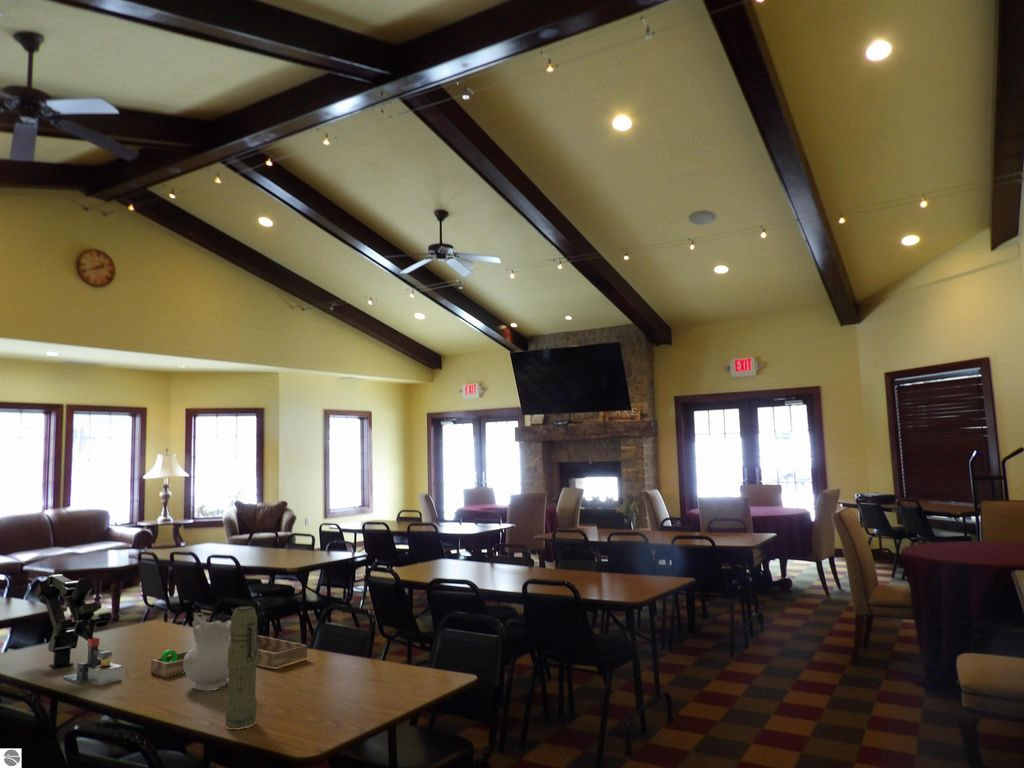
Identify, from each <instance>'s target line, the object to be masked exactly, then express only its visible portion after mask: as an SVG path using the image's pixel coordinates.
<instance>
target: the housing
mask: <svg viewBox="0 0 1024 768" xmlns="http://www.w3.org/2000/svg"><path fill="white" fill-rule="evenodd" d="M122 668H123V666H122V665H121V664H118V663H114V662H110V667H108V668H101V665H98V666H94V667H89V669H88V682H87V683H89V682H90V683H89V684H93V685H96V686H98V685H99V686H103V685H107V684H111V683H115V682H118V680H119V681H122V673H123V672H122V670H123V669H122ZM114 681H115V682H114ZM110 682H111V683H110Z"/></svg>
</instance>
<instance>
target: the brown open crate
mask: <svg viewBox="0 0 1024 768" xmlns="http://www.w3.org/2000/svg"><path fill="white" fill-rule="evenodd" d="M257 644H258V664H260V665H265V666H270V667H278V666H281V665H284V664H287V663H290V662H293V661H297V660H300V659H303V658H307V659H308V645H307V644H302V643H298V642H293V641H288V640H283V639H278V638H272V637H269V636H263V635H259V634H257ZM259 649H263V650H267V651H263V650H259ZM268 651H271V652H268ZM272 652H277V653H272Z"/></svg>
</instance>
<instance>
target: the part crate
mask: <svg viewBox="0 0 1024 768" xmlns="http://www.w3.org/2000/svg"><path fill="white" fill-rule="evenodd" d="M189 651H190V650H187V651H182V652H179V653H177V661H175V662H171V663H166V662H162V661H161V657H157V658H154V659H151V664H150V665H151V667H150V668H151V669H150V674H152V673H154V674H153V675H155V674H158V675H157V676H159V675H162V676H166V677H167V676H171V675H175V674H179V673H183V672H184V667H183V660H184V657H185V655H186V654H187V653H188V652H189ZM171 658H172V655H168V656H167V658H166V660H167V661H169V660H171ZM183 674H184V673H183ZM179 675H180V674H179ZM162 676H161V677H162ZM175 676H176V675H175ZM171 677H172V676H171Z"/></svg>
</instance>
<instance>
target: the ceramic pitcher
mask: <svg viewBox="0 0 1024 768" xmlns="http://www.w3.org/2000/svg"><path fill="white" fill-rule="evenodd" d="M194 616H195V617H194V619H193V622H192V624H193V625H192V633H193V639H194V642H195V645H194V646H193V648H191V649H190V650H188V651H189V652H188V653H187V654H186V655H185V657H184V660H183V667H184V672H185V673H184V674H185V676H186V677H187V678H188V679H189V681H191V682H192V683H195V684H194V685H193V687H194V690H197V691H201V690H211V689H215V688H219V687H221V688H223V687H225V686H227V685H228V684H227V683H228V682H229V669H228V666H227V664H228V648H229V645H230V639H231V619H230V620H227V621H225V622H223V621H221V620H215V621H212V622H210V621H209V622H207V621H206V620H205V616H204V612H203V613H202V612H201V613H200V612H196V613H195V614H194ZM226 684H227V685H226ZM222 686H223V687H222Z"/></svg>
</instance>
